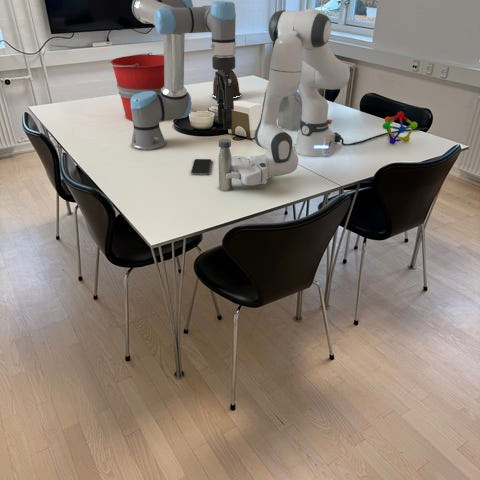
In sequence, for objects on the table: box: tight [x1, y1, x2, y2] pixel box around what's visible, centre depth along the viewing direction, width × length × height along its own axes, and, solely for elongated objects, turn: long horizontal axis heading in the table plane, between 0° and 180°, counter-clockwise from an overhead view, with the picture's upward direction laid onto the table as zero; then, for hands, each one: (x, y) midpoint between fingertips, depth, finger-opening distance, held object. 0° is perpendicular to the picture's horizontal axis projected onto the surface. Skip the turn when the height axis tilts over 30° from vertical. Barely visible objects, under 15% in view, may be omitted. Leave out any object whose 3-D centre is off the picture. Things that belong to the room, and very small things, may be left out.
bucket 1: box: [107, 51, 164, 122], centre depth 239 cm, size 35×35×30 cm
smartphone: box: [190, 158, 212, 176], centre depth 184 cm, size 7×1×15 cm
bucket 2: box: [277, 88, 326, 131], centre depth 226 cm, size 30×30×28 cm
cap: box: [218, 137, 232, 149], centre depth 158 cm, size 4×4×2 cm
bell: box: [212, 69, 242, 97], centre depth 278 cm, size 19×26×20 cm
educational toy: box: [382, 110, 418, 145], centre depth 207 cm, size 16×13×15 cm
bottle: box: [218, 147, 233, 192], centre depth 162 cm, size 5×5×18 cm
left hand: (224, 126), depth 155 cm, fingers open, 7 cm apart
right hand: (223, 172), depth 164 cm, fingers closed on bottle, 5 cm apart
